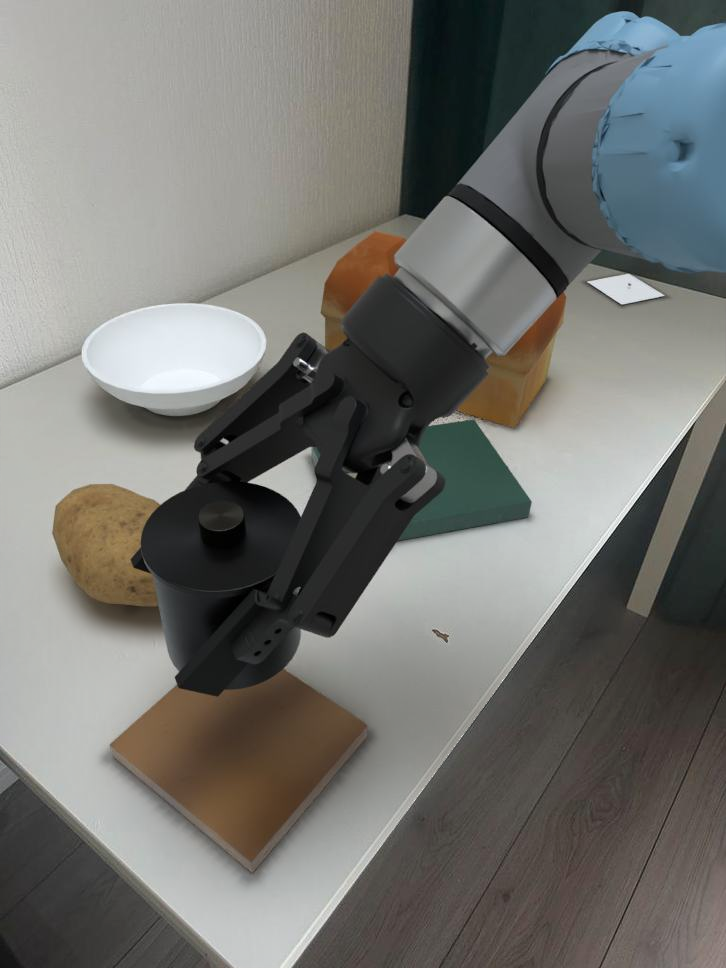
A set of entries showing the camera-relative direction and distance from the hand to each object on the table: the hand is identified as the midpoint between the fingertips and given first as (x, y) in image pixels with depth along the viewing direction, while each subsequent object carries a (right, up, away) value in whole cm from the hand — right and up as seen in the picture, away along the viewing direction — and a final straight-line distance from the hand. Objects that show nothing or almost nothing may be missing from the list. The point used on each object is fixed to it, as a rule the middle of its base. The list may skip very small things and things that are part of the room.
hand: (171, 624), depth 44 cm
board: (+2, -11, +11) cm, 15 cm away
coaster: (+50, +37, +70) cm, 94 cm away
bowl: (-10, +18, +44) cm, 49 cm away
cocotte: (+3, -1, +3) cm, 4 cm away
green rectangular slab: (+16, +8, +33) cm, 38 cm away
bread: (+20, +21, +50) cm, 58 cm away
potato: (-8, -1, +22) cm, 24 cm away
